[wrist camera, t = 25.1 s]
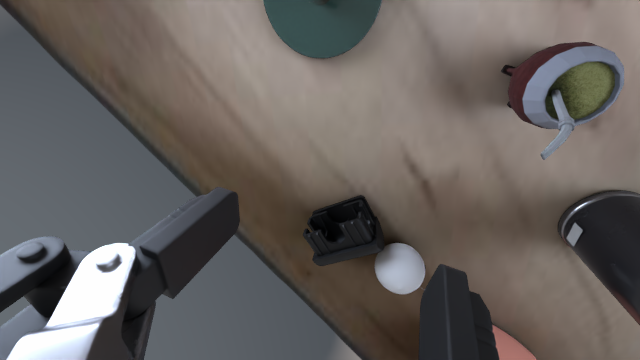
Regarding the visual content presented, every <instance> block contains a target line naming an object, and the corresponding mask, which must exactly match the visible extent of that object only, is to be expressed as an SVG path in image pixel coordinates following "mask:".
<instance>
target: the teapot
mask: <svg viewBox="0 0 640 360" xmlns="http://www.w3.org/2000/svg"><path fill="white" fill-rule="evenodd" d="M492 326H493V333H494V336H495V341H496V348H497V350H498V355H499V359H500V360H537V359H536V358H535V357H534V355H533V354H532V353H531V352H530V351H528V350H527V349H526V348H525V347H524V346H523V345H522V344H520V343H519V342H518V341H517V340H515V339H514V338H513V337H511V336H510V335H508V334H507V333H505V332H504V331H502V330H501V329H499V328H498V327H496V326H494V325H492Z"/></svg>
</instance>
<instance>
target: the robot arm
mask: <svg viewBox="0 0 640 360" xmlns="http://www.w3.org/2000/svg"><path fill="white" fill-rule="evenodd" d="M239 222H240V218H239V204H238V195H237V193H236V192H233V191H230V190H227V189H224V188H221V187H217V188H215V189H214V190H212V191H211V192H210V193H208V194H207V195H201V196H198V197H196V198H193V199H191V200H189V201H188V202H186V203H185V204H183V205H182V206H181V207H179V209H178V210H175V211H174V212H172V213H171V214H170V216H167V217H165V218H164V219H163V220H161V221H160V222H159V223H157V224H156V225H154V226H153V227H152V228H150V229H149V230H147V231H146V232H145V233H144V234H142V235H141V236H139V237H138V238H136V239H135V240H134V241H132V242H131V243H129V244H125V243H115V244H110V245H106V246H103V247H101V248H99V249H97V250H95V251H93V252H91V251H77V250H68V248H67V247H66V245H65V243H64V242H63V240H62V239H60V238H58V237H53V236H46V237H39V238H35V239H31V240H29V241H26V242H24V243H21V244H19V245H17V246H15V247H14V248H12V249H10V250H8V251H6V252H5V253H3V254H1V255H0V312H2V311H3V310H4V309H6V308H7V307H9V306H10V305H12V304H13V303H14V302H16V301H17V300H19V299H20V298H21V297H23V296H24V297H25V298H26V299H27V301H28V302H29V303H30V305H29V306H28V307H26V308H25V309H24V310H22V311H21V312H19V313H18V314H17V315H16V316H14V317H13V318H11V319H10V320H9V321H8V322H6V323H5V324H3V325H2V326H1V327H0V360H144V356H145V351H146V347H147V342H148V338H149V333H150V329H151V324H152V320H153V315H154V311H155V306H156V302H155V300H156V299H157V298H158V297H159V296H160V295H161V294H164V295H166V296H168V297H170V298H172V299H173V298H174V297H175V296H176V295H177V294H178V293H179V292H180V291H181V290H182V289H183V288H184V287H185V286H186V285H187V284H188V283H189V282H190V280H191V279H192V278H193V277H194V276H195V275H196V274H197V273H198V272H199V271H200V270H201V269H202V268H203V267H204V265H205V264H206V263H207V262H208V261H209V260H210V259H211V258H212V257H213V256H214V255H215V254H216V253H217V252H218V251H219V250H220V249H221V247H222V246H223V245H224V244H225V243H226V242H227V241H228V240H229V239H230V238H231V237H232V236H233V235H234V234H235V232H236V231H237V229H238V226H239ZM558 232H559V235H560V237H561V238H562V240H563V241H564V242H565V243H566V244H567V245H568V246H569V247H570V248H572V249H573V251H574V252H575V253H576V254H577V255H578V256H579V257H580V259H581V260H582V261H583V262H584V263H585V264H586V266H587V267H588V268H589V269H590V270H591V271H592V272H593V273H594V274H595V276H596V277H597V278H598V279H599V280H600V281H601V282H602V283H603V285H604V286H605V287H606V288H607V289H608V290H609V291H610V292H611V294H612V295H613V296H614V297H615V298H616V299H617V300H618V301H619V303H620V304H621V305H622V306H623V307H624V308H625V309H626V310H627V312H628V313H629V314H630V315H631V316H632V317H633V318H634V319H635V321H636V322H637V323H638V324H639V325H640V194H638V193H634V192H630V191H608V192H603V193H598V194H595V195H592V196H589V197H587V198H585V199H582V200H581V201H579V202H577V203H576V204H574V205H573V206H571V207H570V208H569V209H568V210H567V211H566V212H565V213H564V214H563V216H562V217H561V219H560V221H559V225H558ZM419 360H500V359H499V355H498V350H497V348H496V341H495V336H494V333H493V326H492V322H491V317H490V312H489V310H488V308H487V307H486V305H485V303H484V302H483V300H482V298H481V297H480V295H479V294H477V293H474V292H471V291H469V287H468V280H467V275H466V273H465V272H463V271H460V270H457V269H454V268H451V267H449V266H446V265H443V264H440V265H439V266H438V268H437V269H436V271H435V273H434V275H433V276H432V278H431V280H430V282H429V283H428V285H427V287H426V288H425V290H424V293H423V296H422V299H421V305H420V333H419Z"/></svg>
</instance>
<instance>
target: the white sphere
mask: <svg viewBox="0 0 640 360" xmlns="http://www.w3.org/2000/svg"><path fill="white" fill-rule="evenodd" d="M374 267H375V268H374V269H375V272H376V276H377V278H378V280H379V281H380V283H381V284H382V285H383V286H384V287H385V288H386V289H388V290H390V291H391V292H394V293H397V294H407V293H411V292H412V291H414V290H416V289H418V288H419V286H420V285H421V284H422V282H423V280H424V277H425V269H426V267H425V265H424V262H423V259H422V257H421V256H420V254H419V253H418V252H417V251H416V250H415V249H413V248H412V247H411V246H409V245H406V244H402V243H392V244H389V245H386V246H385V247H384V250H383V251H382V252H379V253H378V255H377V256H376V260H375V266H374ZM420 288H421V287H420ZM422 289H423V288H422ZM424 290H425V289H424Z"/></svg>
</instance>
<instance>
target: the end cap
mask: <svg viewBox="0 0 640 360" xmlns="http://www.w3.org/2000/svg"><path fill="white" fill-rule="evenodd" d="M307 224H308V225H309V227H310V228H311V230H312V231H313V232H311V233H310V231H309V230H308V229H305V230H304V233H303V236H304V238H305V239H306V241H307V242H308V243H309V245H310V246H311V248H312V249H313V251H314V252H315V253H314V256H313V259H312V260H313V261H314V263H315V264H317V265H319V266H324V265H328V264H333V263H337V262H341V261H345V260H349V259H353V258H358V257H362V256H366V255H370V254H374V253H378V252H382V251H383V250H384V236H383V232H382V229H381V226H380V223H379V221H378V219H377V217H375V216H374V214H373V212H372V210H371V208H370V207H369V205H368V203H367V201H366V199H365V197H364V196H362V195H360V196H357V197H354V198H351V199H348V200H345V201H342V202H339V203H336V204H333V205H331V206H328V207H325V208H322V209H319V210H316V211H314V212H313V214H312V216H311V217H310V218H309V220H308V223H307Z"/></svg>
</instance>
